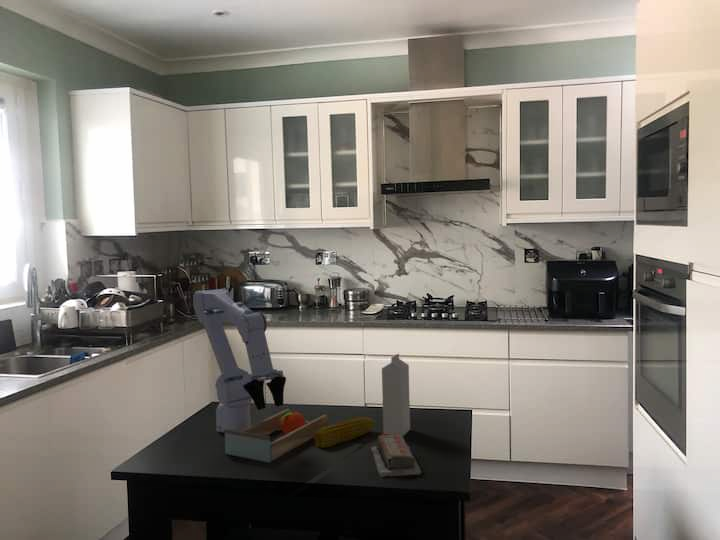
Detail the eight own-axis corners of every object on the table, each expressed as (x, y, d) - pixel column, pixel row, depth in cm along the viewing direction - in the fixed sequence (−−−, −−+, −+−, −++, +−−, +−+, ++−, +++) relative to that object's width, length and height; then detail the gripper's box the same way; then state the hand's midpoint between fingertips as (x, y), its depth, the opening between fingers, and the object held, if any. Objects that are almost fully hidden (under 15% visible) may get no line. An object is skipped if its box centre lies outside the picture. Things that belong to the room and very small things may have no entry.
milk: (410, 429, 184) (409, 353, 182) (403, 436, 179) (402, 358, 177) (390, 427, 187) (389, 352, 185) (382, 434, 181) (381, 357, 179)
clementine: (284, 443, 176) (283, 418, 175) (273, 436, 182) (272, 412, 181) (310, 437, 180) (309, 412, 180) (299, 430, 186) (298, 406, 185)
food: (326, 454, 168) (325, 431, 167) (311, 449, 172) (310, 427, 171) (379, 432, 183) (378, 412, 183) (364, 428, 187) (363, 408, 186)
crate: (228, 455, 168) (227, 436, 168) (287, 425, 191) (287, 408, 191) (272, 464, 161) (271, 444, 161) (327, 431, 184) (327, 414, 184)
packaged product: (370, 433, 169) (407, 431, 170) (370, 451, 169) (407, 449, 170) (379, 459, 151) (421, 456, 152) (380, 479, 151) (421, 476, 153)
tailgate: (225, 453, 167) (224, 429, 166) (227, 452, 168) (226, 428, 167) (268, 462, 160) (267, 437, 160) (271, 461, 161) (270, 436, 160)
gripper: (252, 354, 163) (265, 407, 160) (287, 351, 176) (299, 400, 173) (232, 361, 167) (244, 413, 164) (267, 358, 179) (278, 406, 176)
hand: (270, 407), depth 169 cm, fingers open, 7 cm apart
